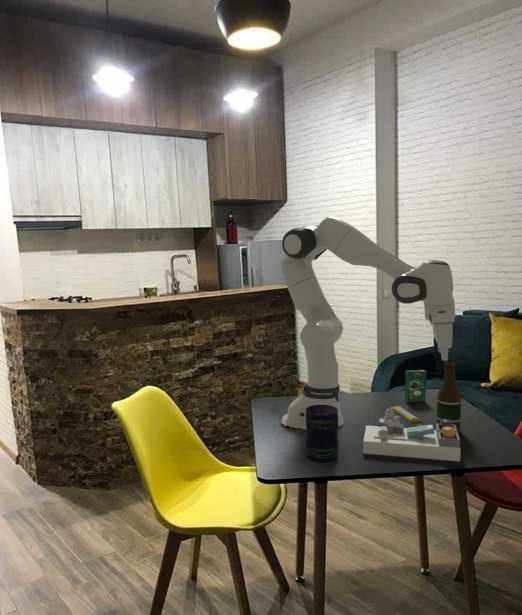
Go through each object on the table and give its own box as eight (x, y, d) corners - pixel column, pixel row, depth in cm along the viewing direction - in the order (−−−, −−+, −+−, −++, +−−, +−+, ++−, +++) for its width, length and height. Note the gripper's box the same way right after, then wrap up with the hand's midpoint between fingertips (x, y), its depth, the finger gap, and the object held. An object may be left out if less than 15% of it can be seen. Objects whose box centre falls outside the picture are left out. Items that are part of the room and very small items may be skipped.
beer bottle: (462, 435, 166) (464, 365, 164) (438, 434, 168) (439, 365, 165) (458, 427, 174) (459, 360, 171) (435, 426, 176) (436, 359, 173)
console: (363, 453, 154) (363, 432, 154) (366, 436, 168) (366, 417, 167) (460, 461, 147) (460, 439, 146) (455, 443, 160) (455, 423, 159)
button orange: (442, 438, 149) (442, 430, 149) (441, 434, 152) (441, 426, 152) (455, 439, 148) (455, 431, 148) (454, 434, 151) (454, 427, 151)
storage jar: (335, 449, 158) (335, 404, 156) (341, 463, 148) (341, 414, 146) (304, 451, 158) (303, 405, 156) (308, 464, 148) (307, 415, 146)
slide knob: (380, 438, 154) (380, 429, 154) (380, 434, 157) (380, 426, 157) (386, 438, 154) (386, 430, 153) (386, 435, 157) (386, 426, 156)
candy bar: (422, 423, 180) (422, 418, 180) (412, 424, 180) (411, 419, 179) (400, 409, 197) (400, 404, 197) (390, 410, 196) (390, 405, 196)
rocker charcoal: (377, 426, 160) (378, 421, 160) (378, 422, 164) (379, 417, 164) (402, 433, 158) (403, 428, 158) (402, 428, 162) (403, 423, 162)
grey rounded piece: (379, 425, 178) (379, 404, 177) (396, 423, 179) (396, 402, 178) (386, 431, 173) (386, 408, 172) (403, 429, 174) (403, 406, 173)
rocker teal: (407, 437, 155) (406, 432, 155) (407, 432, 159) (406, 427, 159) (434, 433, 153) (433, 428, 152) (433, 428, 157) (432, 423, 157)
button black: (440, 430, 156) (440, 422, 155) (439, 426, 159) (440, 418, 159) (453, 431, 155) (453, 423, 154) (451, 427, 158) (452, 419, 158)
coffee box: (423, 400, 206) (423, 368, 205) (426, 402, 203) (426, 370, 202) (404, 401, 205) (404, 370, 204) (407, 403, 202) (407, 371, 201)
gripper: (426, 308, 165) (429, 348, 166) (431, 319, 145) (435, 365, 147) (446, 306, 163) (449, 347, 165) (455, 317, 143) (458, 364, 145)
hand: (443, 356), depth 156 cm, fingers open, 8 cm apart
